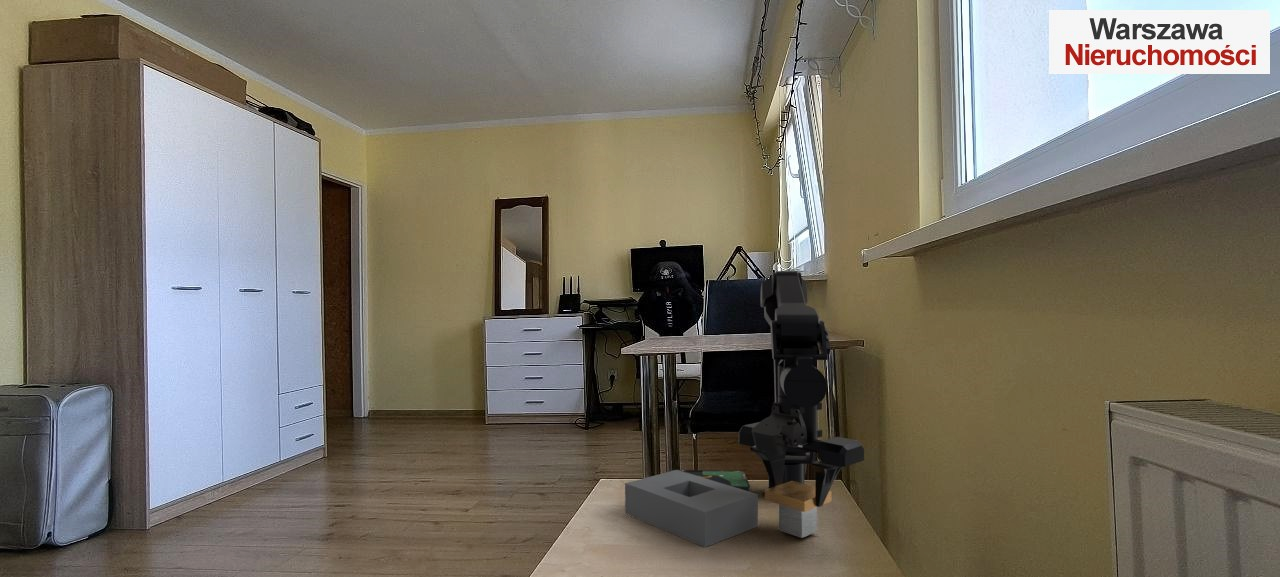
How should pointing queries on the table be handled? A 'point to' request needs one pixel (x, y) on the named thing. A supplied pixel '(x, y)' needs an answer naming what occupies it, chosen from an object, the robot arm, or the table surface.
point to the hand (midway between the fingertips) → (798, 499)
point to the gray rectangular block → (692, 506)
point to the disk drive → (723, 477)
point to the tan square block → (796, 507)
